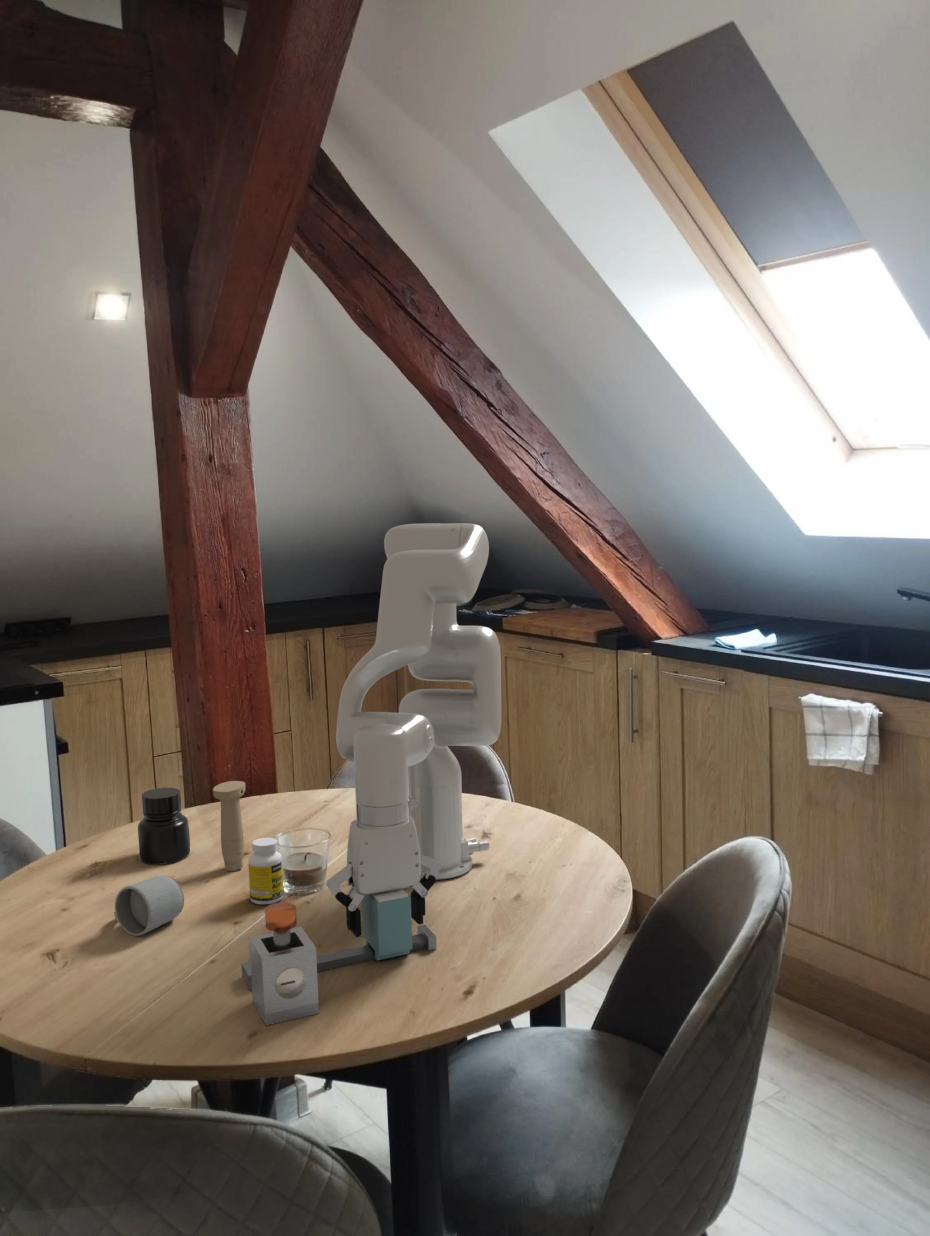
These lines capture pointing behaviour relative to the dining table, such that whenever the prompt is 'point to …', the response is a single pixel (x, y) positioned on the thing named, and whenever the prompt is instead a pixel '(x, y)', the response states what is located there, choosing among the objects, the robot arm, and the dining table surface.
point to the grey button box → (284, 977)
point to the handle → (231, 823)
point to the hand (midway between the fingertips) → (386, 927)
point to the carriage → (388, 923)
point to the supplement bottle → (265, 872)
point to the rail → (355, 954)
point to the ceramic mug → (148, 904)
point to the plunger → (281, 923)
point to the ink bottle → (163, 827)
